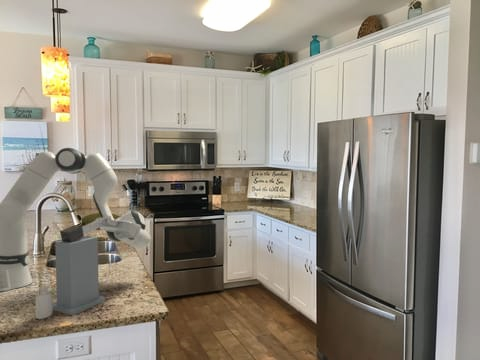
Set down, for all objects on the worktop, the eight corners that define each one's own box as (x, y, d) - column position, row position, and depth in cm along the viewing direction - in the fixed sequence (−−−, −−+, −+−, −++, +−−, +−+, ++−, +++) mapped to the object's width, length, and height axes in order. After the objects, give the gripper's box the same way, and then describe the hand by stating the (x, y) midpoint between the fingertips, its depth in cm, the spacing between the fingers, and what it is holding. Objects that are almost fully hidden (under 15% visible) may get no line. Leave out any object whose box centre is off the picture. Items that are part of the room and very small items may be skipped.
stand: (84, 295, 162) (82, 233, 160) (105, 300, 157) (104, 237, 155) (50, 309, 148) (48, 241, 146) (72, 315, 142) (70, 245, 140)
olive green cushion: (126, 227, 308) (126, 215, 307) (85, 231, 291) (85, 218, 291) (115, 220, 337) (115, 209, 337) (77, 224, 321) (76, 212, 320)
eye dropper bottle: (35, 316, 142) (34, 283, 141) (51, 312, 145) (51, 281, 144) (36, 320, 138) (35, 287, 137) (53, 316, 141) (53, 284, 140)
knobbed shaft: (105, 220, 166) (103, 212, 165) (113, 221, 164) (112, 213, 163) (62, 241, 147) (60, 231, 146) (71, 242, 145) (69, 232, 144)
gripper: (109, 221, 179) (88, 210, 168) (144, 226, 170) (124, 214, 158) (104, 234, 176) (82, 224, 165) (139, 239, 167) (118, 228, 156)
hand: (103, 219), depth 162 cm, fingers closed on knobbed shaft, 2 cm apart
